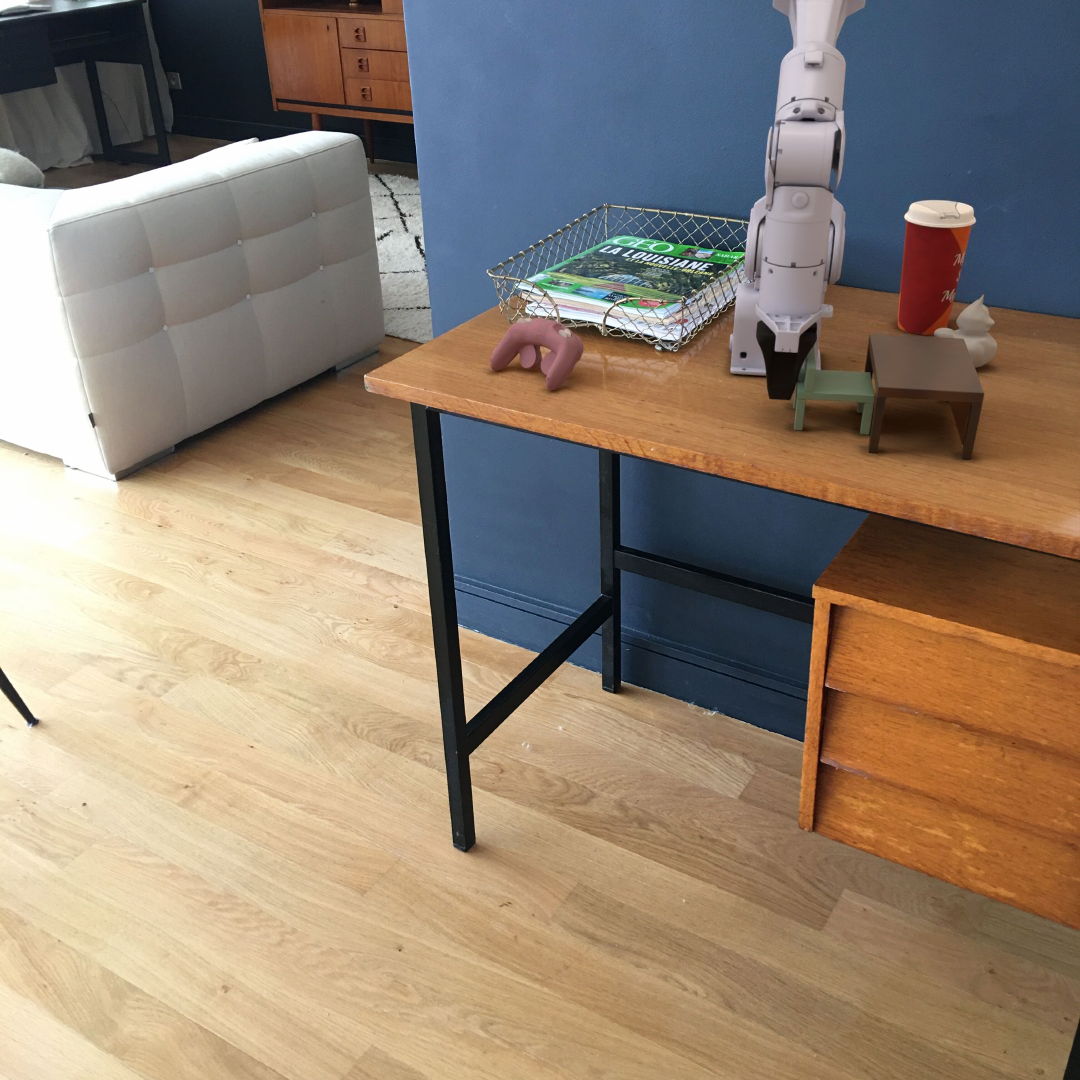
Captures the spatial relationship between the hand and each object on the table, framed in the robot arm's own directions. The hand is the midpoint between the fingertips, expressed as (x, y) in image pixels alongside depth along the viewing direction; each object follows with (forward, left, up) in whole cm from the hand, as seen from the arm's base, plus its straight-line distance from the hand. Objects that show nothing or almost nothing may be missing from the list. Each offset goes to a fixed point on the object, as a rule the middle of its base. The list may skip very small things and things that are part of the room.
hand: (779, 397), depth 107 cm
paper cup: (+16, +29, -2) cm, 33 cm away
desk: (+13, 0, -2) cm, 13 cm away
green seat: (+5, 0, -2) cm, 5 cm away
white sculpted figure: (+19, +17, -2) cm, 26 cm away
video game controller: (-26, +7, -2) cm, 27 cm away
